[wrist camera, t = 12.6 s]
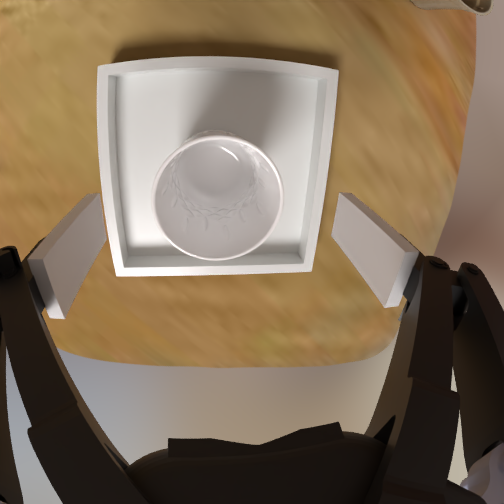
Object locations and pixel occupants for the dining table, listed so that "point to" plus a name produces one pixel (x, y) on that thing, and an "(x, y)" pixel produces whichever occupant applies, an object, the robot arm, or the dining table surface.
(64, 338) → the dining table surface
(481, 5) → the flower pot
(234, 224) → the white cup
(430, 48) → the dining table surface
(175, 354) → the dining table surface
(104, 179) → the tray
